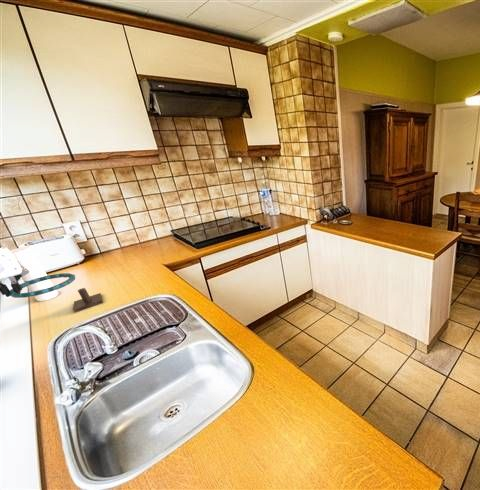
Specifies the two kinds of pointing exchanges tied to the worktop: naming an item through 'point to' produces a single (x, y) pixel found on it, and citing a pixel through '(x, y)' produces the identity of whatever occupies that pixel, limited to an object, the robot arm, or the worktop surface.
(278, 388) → the worktop surface
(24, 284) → the ring
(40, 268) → the cylindrical container
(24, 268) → the robot arm
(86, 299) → the stand
